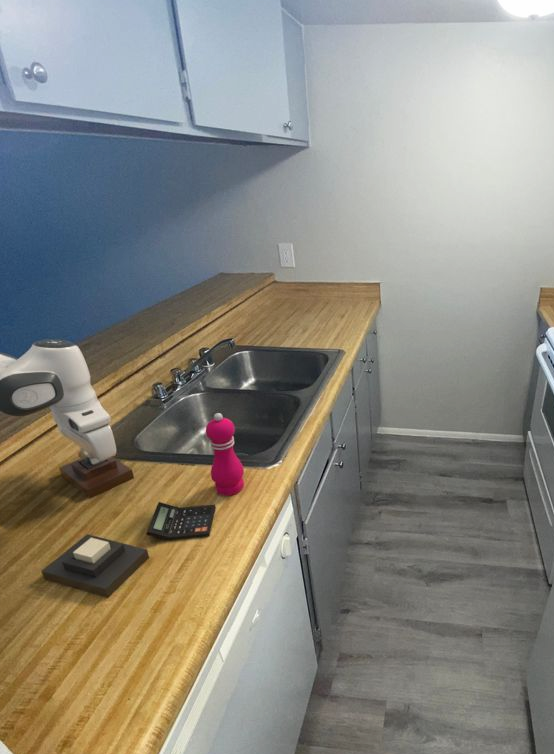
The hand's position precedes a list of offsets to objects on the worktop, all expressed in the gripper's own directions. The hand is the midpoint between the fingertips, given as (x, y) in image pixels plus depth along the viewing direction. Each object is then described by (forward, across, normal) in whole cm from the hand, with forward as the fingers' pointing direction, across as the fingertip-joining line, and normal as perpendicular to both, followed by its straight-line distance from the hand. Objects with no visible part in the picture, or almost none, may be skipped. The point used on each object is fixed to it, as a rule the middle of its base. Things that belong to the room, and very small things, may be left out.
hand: (93, 461), depth 111 cm
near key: (+1, +29, -14) cm, 32 cm away
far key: (+2, 0, 0) cm, 2 cm away
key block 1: (+4, 0, 0) cm, 5 cm away
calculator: (+5, +31, +3) cm, 31 cm away
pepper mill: (+5, +28, +16) cm, 33 cm away
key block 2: (+4, +29, -14) cm, 33 cm away
